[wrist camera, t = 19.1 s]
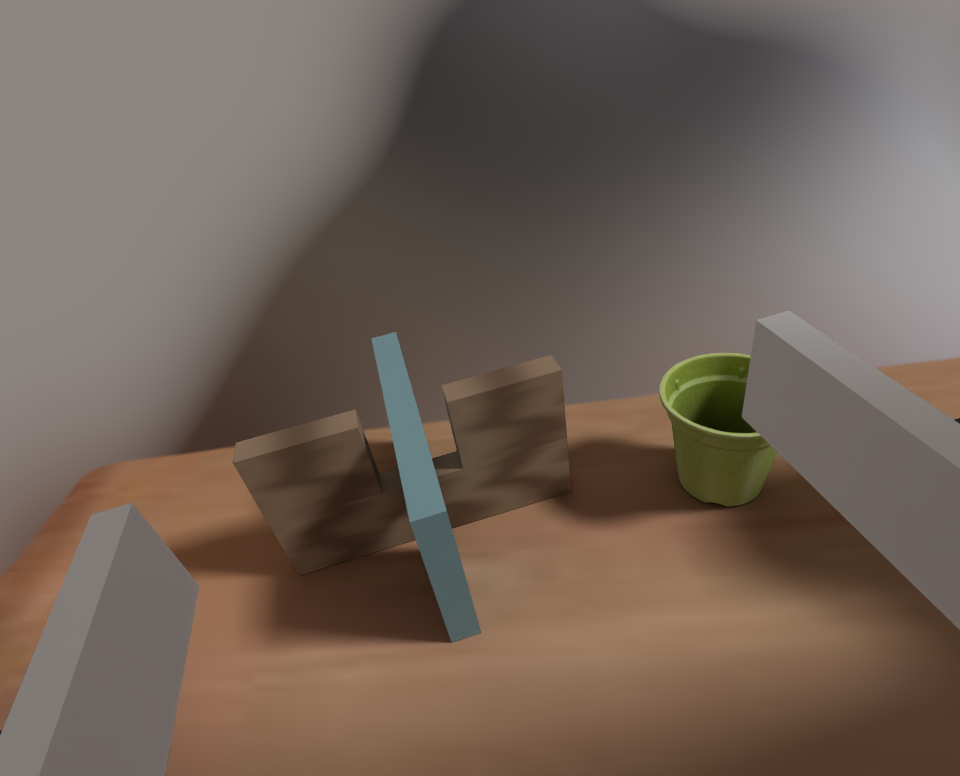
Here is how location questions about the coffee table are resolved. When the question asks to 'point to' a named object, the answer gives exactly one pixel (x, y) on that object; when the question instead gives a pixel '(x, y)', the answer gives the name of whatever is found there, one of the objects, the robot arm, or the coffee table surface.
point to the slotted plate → (424, 493)
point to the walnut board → (379, 497)
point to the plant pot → (715, 429)
